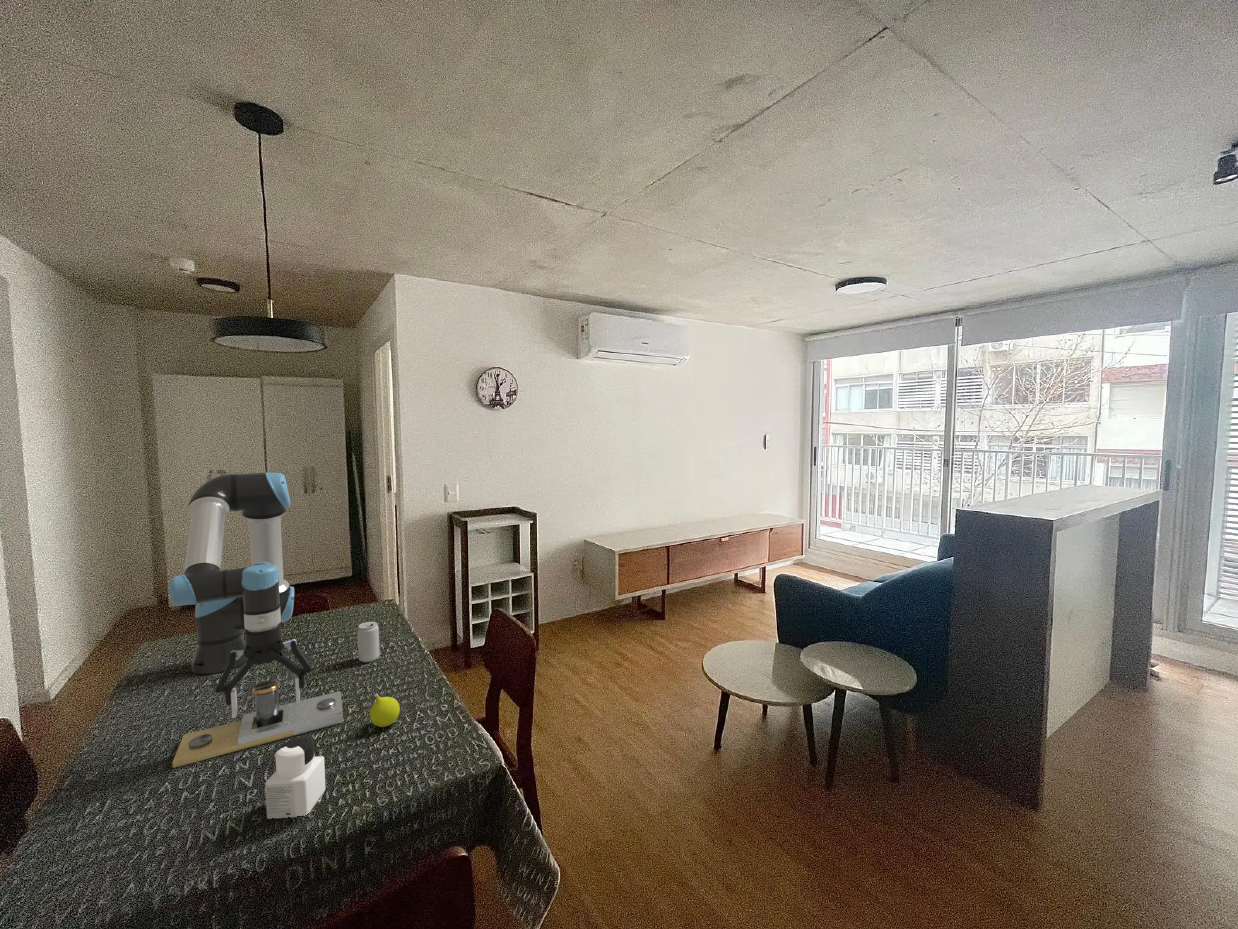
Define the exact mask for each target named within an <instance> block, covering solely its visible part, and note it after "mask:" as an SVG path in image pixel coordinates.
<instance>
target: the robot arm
mask: <svg viewBox="0 0 1238 929" xmlns="http://www.w3.org/2000/svg"><path fill="white" fill-rule="evenodd" d="M290 507H291V499H290V493H289V488H288V484H287V480H286V476H285V474H283V473H280V472H268V471H266V472H257V473H256V472H253V473H238V474H237V473H235V474H232V473H228V474H221V475H218V476H216V477H213V478H211V479H210V480H208V481H206V482H204V483H203V484H201V486H200V487H199V488H197V490H195V492H194V493H193V494H192V495H191V497H190V500H189V501H188V507H187V513H188V516H190V524H189V531H188V541H187V546H186V547H187V548H186V554H185V561H184V568H183V574H180V575H175V576H173V577H172V578H171V580H170V584H169V596H170V601H171V603H172V605H174V606H188V605H189V606H191V605H195V614H194V618H195V626H196V629H195V630H196V641H197V642H196V643H197V645H196V648H195V652H194V654H193V657H192V661H191V665H190V666H191V672H192V673H194V674H197V675H211V674H218V673H221V672H223V673H222V675H221V677H220V679H219V682H218V683H217V685H216V687H215V693H218V694H219V693H224V694H225V695H224V696H225V705H226V706H230V705H231V719H236V718H237V715H238V699H237V698H238V697H237V687H236V686H237V684H238V683H239V682H240V680H241V679H242V678H243V677H244V676H245V674H246V673H247V672H248V670H250V669H251V667H253V665H257V666H258V665H262V664H265V663H267V664H269V663H272V662H274V661H276V662H278V663H280V664H281V665H282V666H283V667H284V668H285V667H286V668H287V669H288V670H289V671H291V672H292V673H294V674H295V677H294V682H295V685H294V686H295V700H296V701H295V702H296V703H298V702H300V701H301V693H300V692H301V691H300V689H302V688H304V687H305V675H306V674H310V673H311V672H312V669H313V668H312V665H311V663H310V662H309V660H308V659H307V657H306V656H305V654H304V653H303V652H302V650H301V648H299V646H298V643H297V638H295V637H293V638H291V639H290V640H287V641H283V638H282V637H283V636H282V634H283V633H282V625H281V623H283V622H284V623H285V622H288V621H289V620H291V618H292V616H293V612H294V604H295V603H294V602H295V587H294V586H290V583H289V581H287V580H286V579H284V562H283V560H284V559H283V539H282V538H283V537H282V520H281V518H282V517H283V516H284V515H285V514H286V512H287V510H286V509H288V508H290ZM230 512H241V514H242V518H243V519H245V520H247V521H248V532H249V533H248V534H249V549H250V563H251V564H250V565H251V566H247V567H239V568H232V569H231V568H229V569H223V570H222V563H223V547H224V532H225V519H226V517H227V516H228V515H229V513H230ZM243 630H245V631H244V636H243ZM284 648H287V649H288V650H290V651H291V652H292V654H293V655H294V656H295V658H296V660H297V661H298V662H299V664H300V665H301V666H302V667H301V666H300V665H299V664H297V663H296V662H295V661H293V660H292V659H290V658H289V657H288V656H286V655H285V653H284V652H282V651H283V650H284ZM240 666H241V667H240ZM237 667H240V669H239V670H238V671H237V672H236V673H235V675H234V676H233V678H231V680H230V681H229V682H228V683H227V684H226V682H227V680H228V678H229V676H230V674H231V672H232V670H233V669H236V668H237Z"/></svg>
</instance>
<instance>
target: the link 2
mask: <svg viewBox="0 0 1238 929" xmlns="http://www.w3.org/2000/svg"><path fill="white" fill-rule="evenodd" d="M342 701H343V700H342V692H341V690H340V691H335V692H331V693H327V694H324V695H323V694H322V695H319V696H315V697H311V698H307V699H301V700H300V702H298V703H296V701H295V702H290V703H285V704H281V705H279V716H282V715H283V720H282V721H280V722H279V723H275V724H271V725H267V726H263V727H259V728H257V727H256V728H254V729H253V726H254V722H256V711H252V712H249V713H244V714H243V716H242V719H241V721H242V723H241V727H240V731H239V736H238V744H242V743H246V742H250V741H253V740H257V739H261V738H265V737H269V736H272V735H276V734H280V733H284V732H288V731H291V730H293V731H294V736H298V735H301V734H305V733H308V732H311V731H316V730H320V729H323V728H327V727H331V726H335V725H338V724H342V723H344V712H343V710H344V709H343V702H342Z"/></svg>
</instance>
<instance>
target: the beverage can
mask: <svg viewBox="0 0 1238 929" xmlns="http://www.w3.org/2000/svg"><path fill="white" fill-rule="evenodd" d="M379 630H380V629H379V625H378V622H376V621H366V622H362V623H360V624H359V625H358V628H357V631H356V632H357V634H356V635H357V653H358V661H360V662H362V663H371V662H374V661H376V660H377V659H378V658H379V657H380V655H381V654H380V653H381V652H380V631H379Z"/></svg>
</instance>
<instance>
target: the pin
mask: <svg viewBox="0 0 1238 929" xmlns="http://www.w3.org/2000/svg"><path fill="white" fill-rule="evenodd" d="M279 687H280V681H279V680H276V679H271V680H265V681H262V682H259V683H257V684H255V685H254V686H253V687H252V688H251V690H252V694H254V705H255V712H256V726H257V727H256V728H259V727H263V726H267V725H271V724H275V723H279V706H280V705H279Z"/></svg>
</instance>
